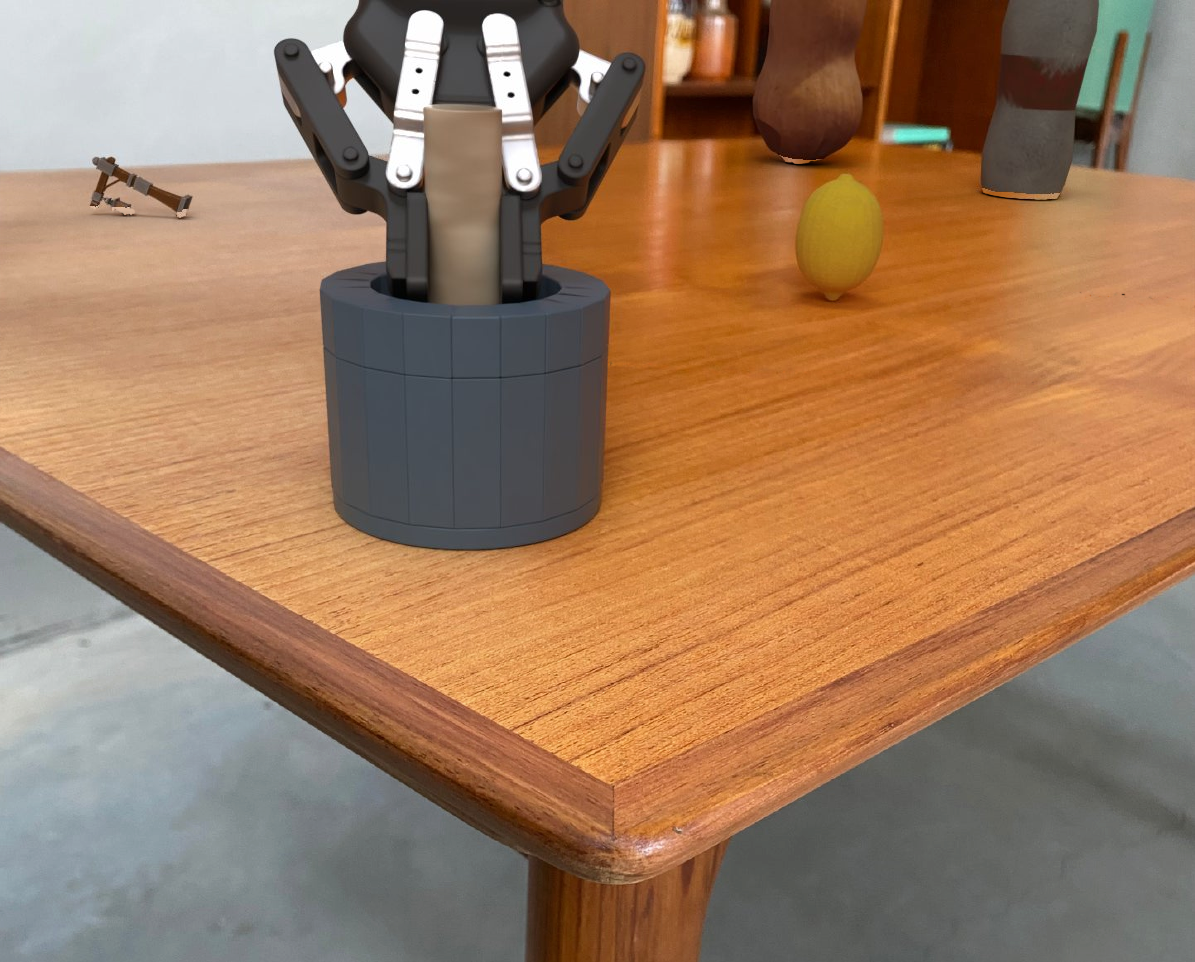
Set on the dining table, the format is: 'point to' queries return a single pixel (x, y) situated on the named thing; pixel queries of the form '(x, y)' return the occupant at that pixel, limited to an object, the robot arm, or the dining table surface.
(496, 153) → the tan cylinder
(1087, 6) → the grey vase with band
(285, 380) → the dining table surface
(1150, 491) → the dining table surface
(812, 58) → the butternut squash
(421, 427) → the grey paneled mortar
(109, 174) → the wooden post with brackets
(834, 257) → the lemon
